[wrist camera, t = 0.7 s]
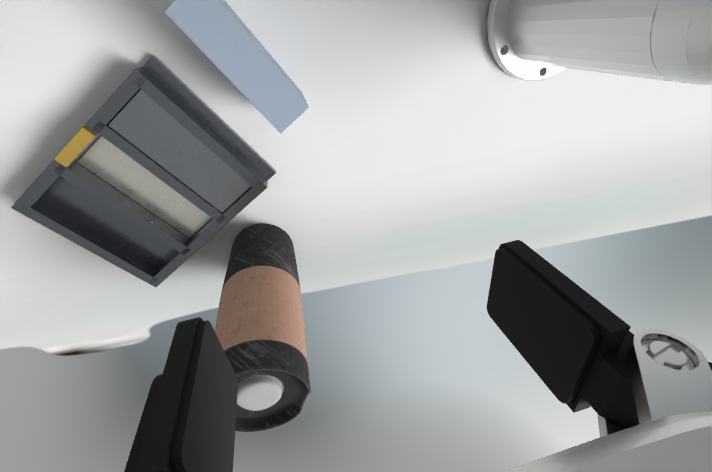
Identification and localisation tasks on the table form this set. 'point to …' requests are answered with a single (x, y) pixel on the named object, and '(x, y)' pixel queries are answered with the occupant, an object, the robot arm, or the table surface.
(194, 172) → the rack
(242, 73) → the panel
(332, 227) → the table surface
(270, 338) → the travel mug
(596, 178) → the table surface
